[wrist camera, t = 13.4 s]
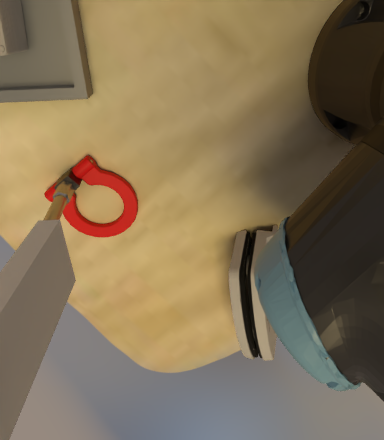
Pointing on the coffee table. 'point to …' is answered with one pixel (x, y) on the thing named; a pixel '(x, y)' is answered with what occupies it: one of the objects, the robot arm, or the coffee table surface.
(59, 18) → the tray
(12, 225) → the coffee table surface
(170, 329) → the coffee table surface
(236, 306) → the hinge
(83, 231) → the tow hook
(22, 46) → the padlock
